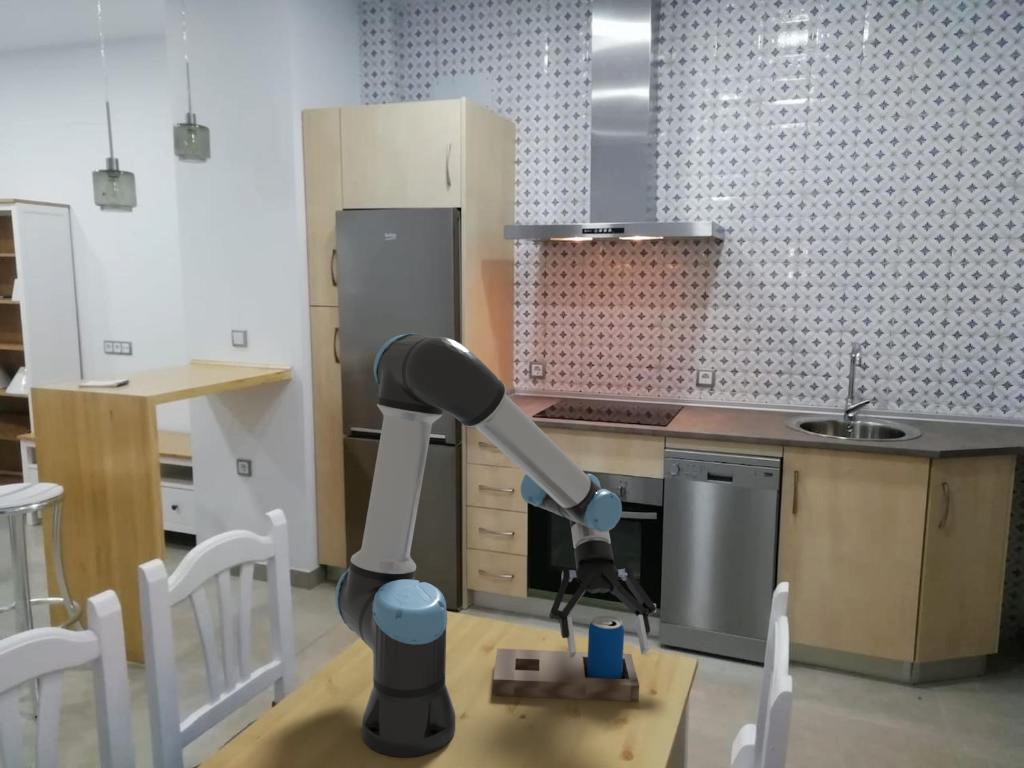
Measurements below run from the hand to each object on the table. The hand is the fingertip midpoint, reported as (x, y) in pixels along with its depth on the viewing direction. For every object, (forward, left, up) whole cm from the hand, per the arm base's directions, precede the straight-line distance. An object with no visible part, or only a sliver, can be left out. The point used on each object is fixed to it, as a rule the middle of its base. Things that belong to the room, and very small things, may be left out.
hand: (609, 653), depth 136 cm
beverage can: (-1, +2, -7) cm, 7 cm away
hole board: (-8, +2, -7) cm, 11 cm away
